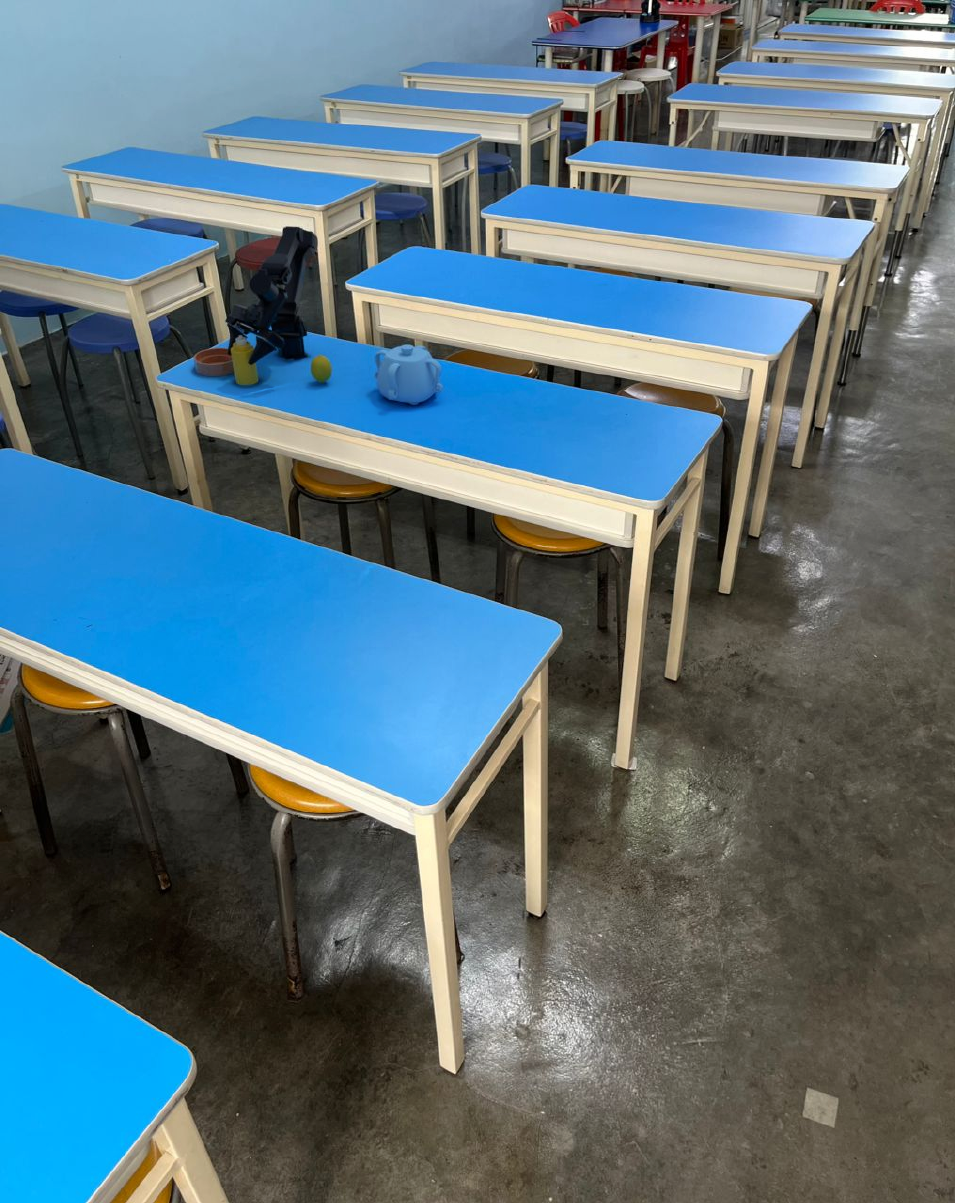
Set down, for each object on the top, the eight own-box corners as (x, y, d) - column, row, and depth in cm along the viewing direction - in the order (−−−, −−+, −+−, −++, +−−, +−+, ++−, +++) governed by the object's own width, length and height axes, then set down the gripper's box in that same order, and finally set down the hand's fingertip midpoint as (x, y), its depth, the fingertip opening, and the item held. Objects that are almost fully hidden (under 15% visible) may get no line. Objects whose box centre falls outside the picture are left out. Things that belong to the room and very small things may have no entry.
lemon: (329, 388, 251) (326, 359, 247) (309, 386, 252) (306, 358, 248) (335, 380, 256) (333, 351, 251) (316, 378, 257) (313, 350, 252)
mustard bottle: (253, 376, 258) (246, 329, 250) (262, 383, 254) (255, 336, 246) (232, 381, 255) (225, 334, 247) (241, 388, 251) (234, 341, 243)
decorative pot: (433, 381, 256) (432, 332, 248) (445, 405, 243) (444, 355, 235) (374, 386, 253) (371, 337, 245) (383, 411, 240) (380, 360, 232)
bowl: (229, 358, 268) (227, 344, 265) (247, 372, 260) (245, 358, 257) (189, 367, 262) (187, 353, 260) (206, 382, 254) (203, 368, 252)
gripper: (225, 283, 247) (196, 335, 247) (269, 300, 237) (239, 354, 237) (254, 305, 257) (226, 355, 257) (297, 322, 247) (268, 374, 247)
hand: (239, 359), depth 249 cm, fingers open, 9 cm apart
